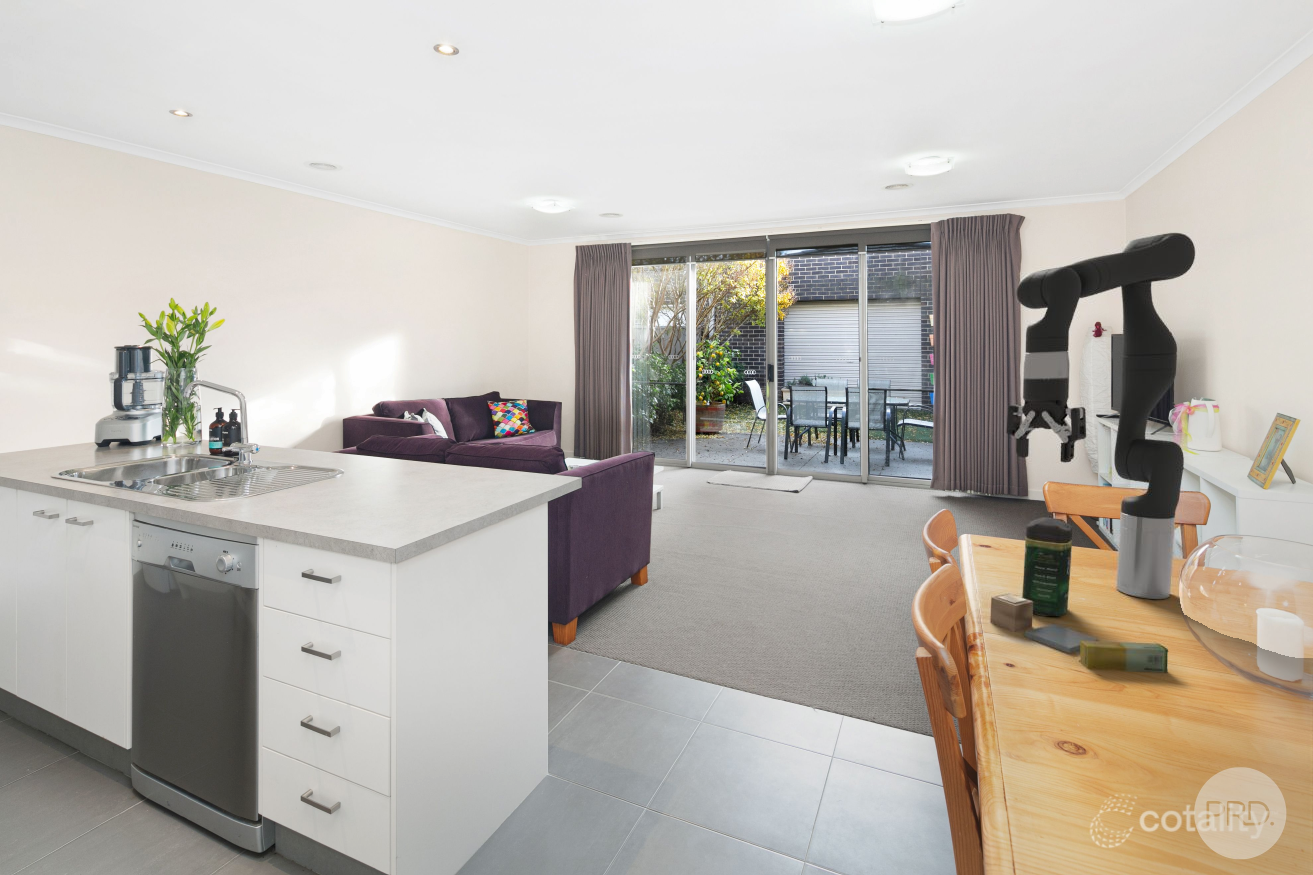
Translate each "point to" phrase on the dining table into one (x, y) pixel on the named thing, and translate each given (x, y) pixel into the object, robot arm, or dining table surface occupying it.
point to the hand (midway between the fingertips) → (1043, 459)
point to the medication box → (1124, 656)
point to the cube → (1011, 612)
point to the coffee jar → (1047, 565)
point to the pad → (1059, 637)
